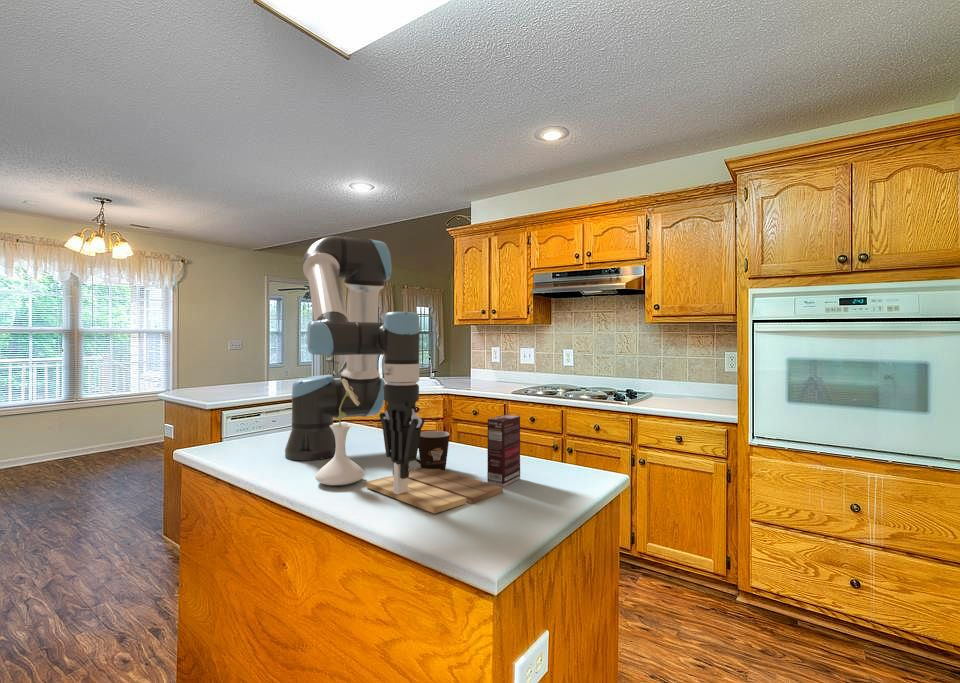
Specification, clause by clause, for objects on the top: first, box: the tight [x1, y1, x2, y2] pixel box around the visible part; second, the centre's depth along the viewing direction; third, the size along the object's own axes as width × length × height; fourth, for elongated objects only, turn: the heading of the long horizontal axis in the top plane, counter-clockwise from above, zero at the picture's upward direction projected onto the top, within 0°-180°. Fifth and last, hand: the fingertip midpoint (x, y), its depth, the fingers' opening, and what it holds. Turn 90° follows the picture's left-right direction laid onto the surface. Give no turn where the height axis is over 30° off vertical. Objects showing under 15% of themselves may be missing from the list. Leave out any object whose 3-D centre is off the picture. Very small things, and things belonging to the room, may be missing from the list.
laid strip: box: [408, 466, 504, 505], centre depth 112 cm, size 26×10×1 cm, turn 48°
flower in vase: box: [315, 378, 365, 486], centre depth 114 cm, size 13×11×25 cm
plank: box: [364, 475, 467, 515], centre depth 105 cm, size 24×9×1 cm, turn 48°
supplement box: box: [486, 414, 521, 488], centre depth 116 cm, size 9×5×16 cm, turn 146°
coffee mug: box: [414, 430, 451, 471], centre depth 125 cm, size 12×9×10 cm
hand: (400, 492), depth 102 cm, fingers closed
